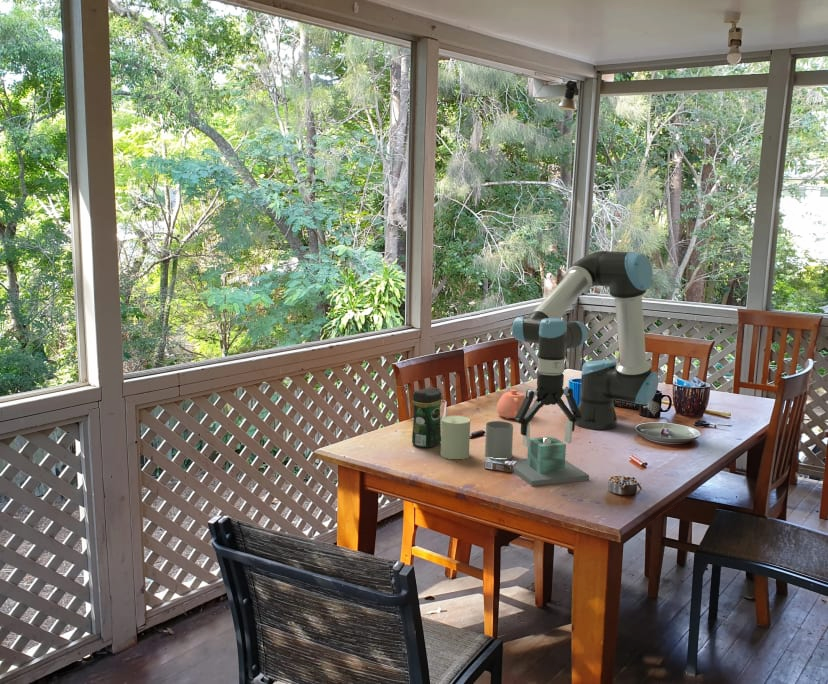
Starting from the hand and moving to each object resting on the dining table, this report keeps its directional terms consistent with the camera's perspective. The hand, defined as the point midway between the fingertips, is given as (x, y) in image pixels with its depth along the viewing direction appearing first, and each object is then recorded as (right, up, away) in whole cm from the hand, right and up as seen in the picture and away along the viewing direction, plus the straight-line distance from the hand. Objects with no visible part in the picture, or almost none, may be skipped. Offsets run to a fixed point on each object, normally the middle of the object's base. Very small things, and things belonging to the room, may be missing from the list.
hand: (547, 444), depth 223 cm
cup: (-12, -6, +16) cm, 21 cm away
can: (-26, -6, +16) cm, 31 cm away
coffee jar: (-35, -4, +27) cm, 44 cm away
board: (0, -9, +1) cm, 9 cm away
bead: (0, -7, +1) cm, 7 cm away
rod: (0, -7, +1) cm, 7 cm away
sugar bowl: (-2, +2, +61) cm, 61 cm away
